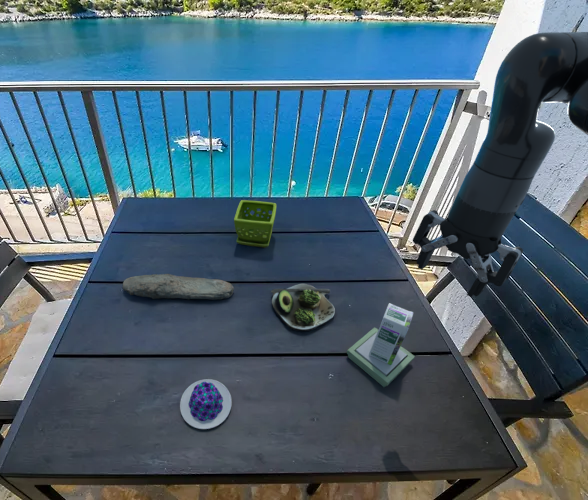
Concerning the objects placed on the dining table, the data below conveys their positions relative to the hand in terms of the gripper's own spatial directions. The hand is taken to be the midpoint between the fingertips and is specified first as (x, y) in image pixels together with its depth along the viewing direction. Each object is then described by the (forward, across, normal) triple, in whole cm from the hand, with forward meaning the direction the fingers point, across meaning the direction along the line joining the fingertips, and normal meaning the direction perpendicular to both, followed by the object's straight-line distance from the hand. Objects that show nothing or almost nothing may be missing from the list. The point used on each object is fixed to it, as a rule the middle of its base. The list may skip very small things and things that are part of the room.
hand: (445, 280), depth 59 cm
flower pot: (+38, -67, +16) cm, 79 cm away
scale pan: (+36, -7, +7) cm, 38 cm away
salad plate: (+38, -32, +4) cm, 50 cm away
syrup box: (+35, -7, +7) cm, 36 cm away
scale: (+38, -7, +7) cm, 39 cm away
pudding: (+38, -25, -35) cm, 58 cm away
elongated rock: (+38, -61, -21) cm, 75 cm away
